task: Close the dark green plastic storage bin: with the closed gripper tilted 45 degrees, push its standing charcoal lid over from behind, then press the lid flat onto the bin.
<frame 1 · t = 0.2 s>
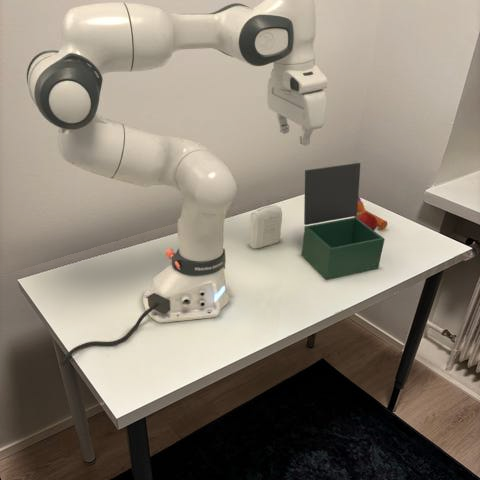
hand: (294, 138, 117), 39 cm above the table, tool pointing down, fingers open, 8 cm apart
bin: (339, 262, 149), on the table
kendama: (363, 218, 173), on the table
photo printer: (264, 244, 157), on the table
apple: (361, 235, 163), on the table
bin lid: (332, 193, 145), point 18 cm above the table, hinge at 100.0°
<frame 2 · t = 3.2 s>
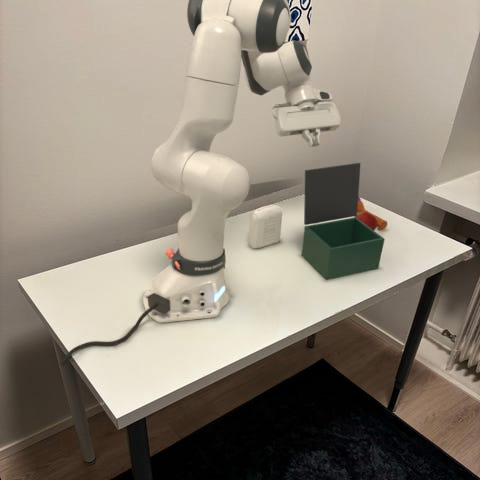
hand: (314, 145, 148), 28 cm above the table, tool tilted 45°, fingers closed
nothing on the table moved.
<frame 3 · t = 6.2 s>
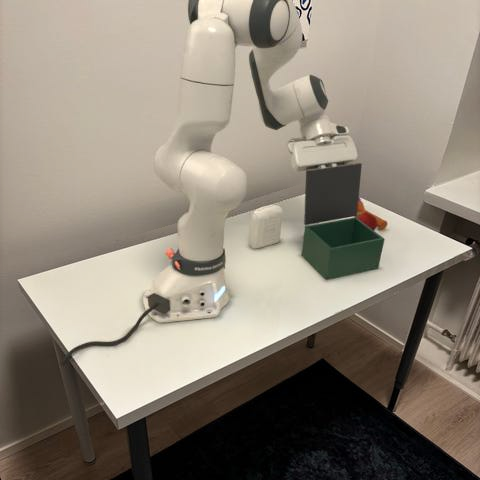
hand: (330, 180, 144), 21 cm above the table, tool tilted 45°, fingers closed, pressing on bin lid
bin lid: (332, 194, 144), point 18 cm above the table, hinge at 97.7°, touching gripper
everything else where it was.
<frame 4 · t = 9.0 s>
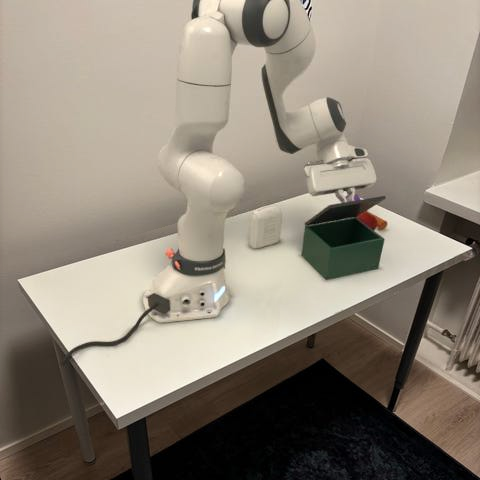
hand: (349, 205, 138), 18 cm above the table, tool tilted 45°, fingers closed, pressing on bin lid
bin lid: (343, 211, 141), point 16 cm above the table, hinge at 42.9°, touching gripper
everything else where it was.
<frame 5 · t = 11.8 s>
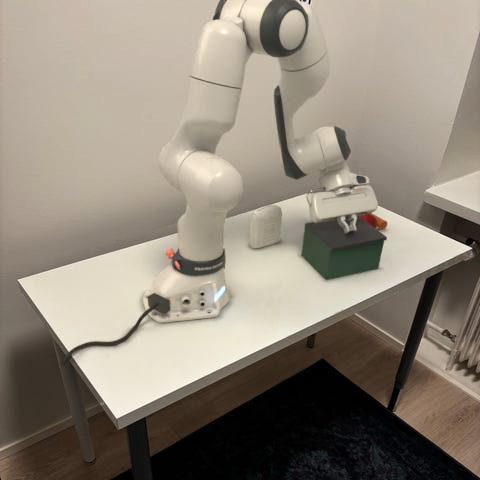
hand: (350, 232, 140), 11 cm above the table, tool tilted 45°, fingers closed, pressing on bin lid
bin lid: (345, 231, 143), point 10 cm above the table, hinge at -0.2°, touching bin, gripper
everything else where it was.
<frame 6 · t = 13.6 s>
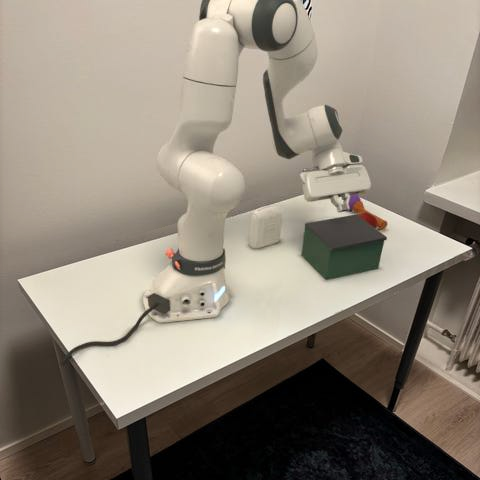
hand: (343, 211, 141), 16 cm above the table, tool tilted 45°, fingers closed
bin lid: (345, 231, 143), point 10 cm above the table, hinge at -0.2°, touching bin
everything else where it was.
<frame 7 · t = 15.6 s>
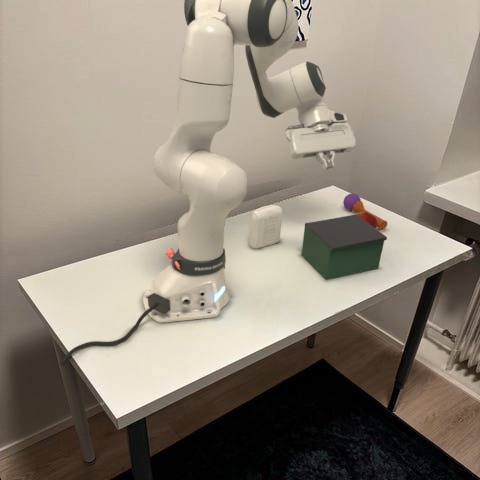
hand: (329, 168, 143), 24 cm above the table, tool tilted 45°, fingers closed
nothing on the table moved.
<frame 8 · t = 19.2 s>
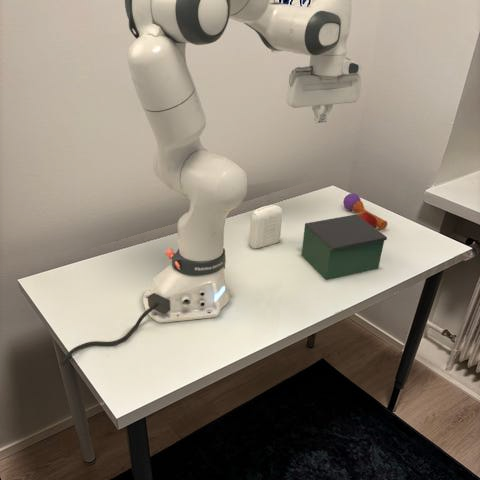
hand: (320, 122, 135), 37 cm above the table, tool pointing down, fingers closed
nothing on the table moved.
at the end: bin lid at +0° (first picture: +100°) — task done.
